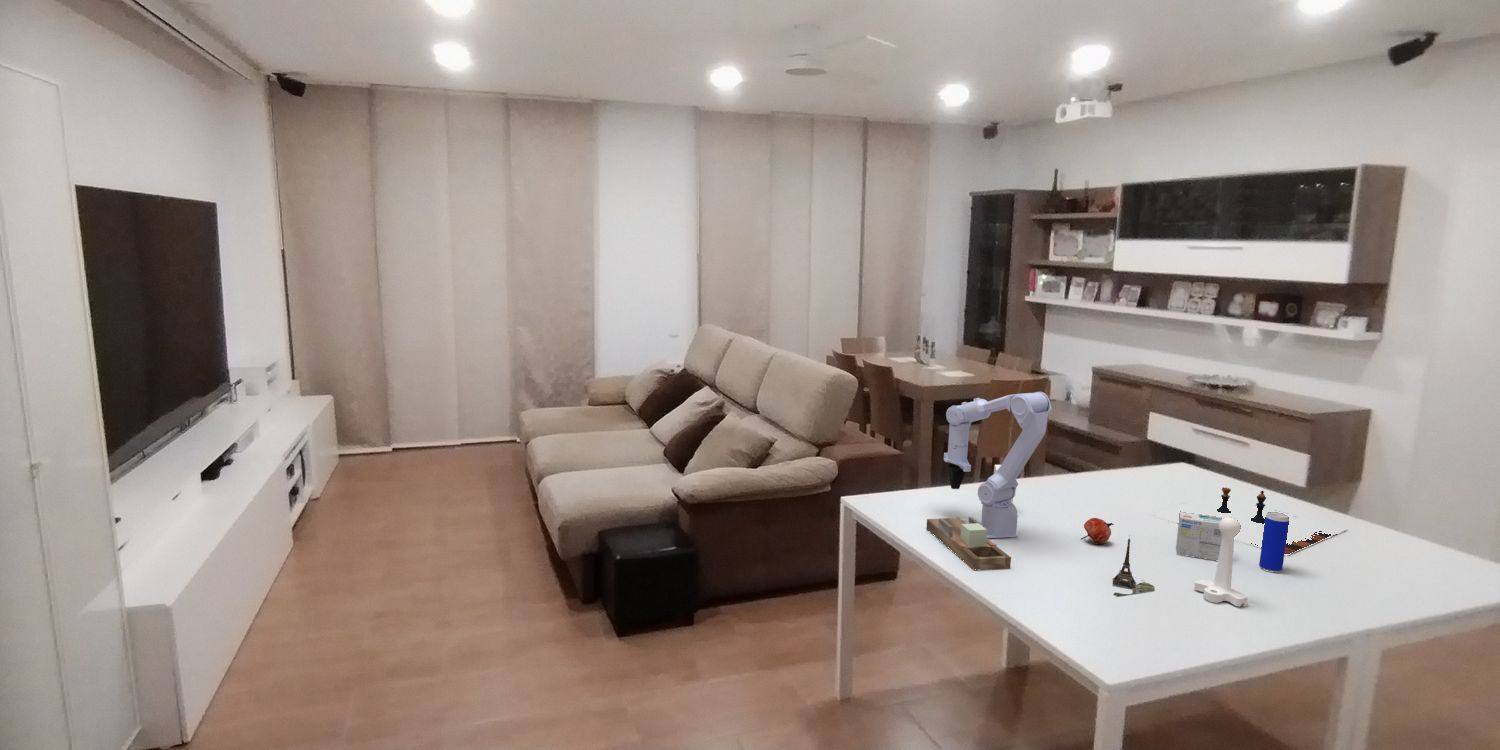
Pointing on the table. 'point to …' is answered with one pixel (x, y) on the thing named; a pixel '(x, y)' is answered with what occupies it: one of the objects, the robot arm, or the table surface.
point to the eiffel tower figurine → (1129, 579)
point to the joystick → (1223, 569)
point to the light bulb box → (1199, 535)
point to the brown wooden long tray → (973, 556)
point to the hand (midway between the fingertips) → (955, 488)
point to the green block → (973, 534)
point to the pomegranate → (1098, 530)
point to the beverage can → (1274, 541)
